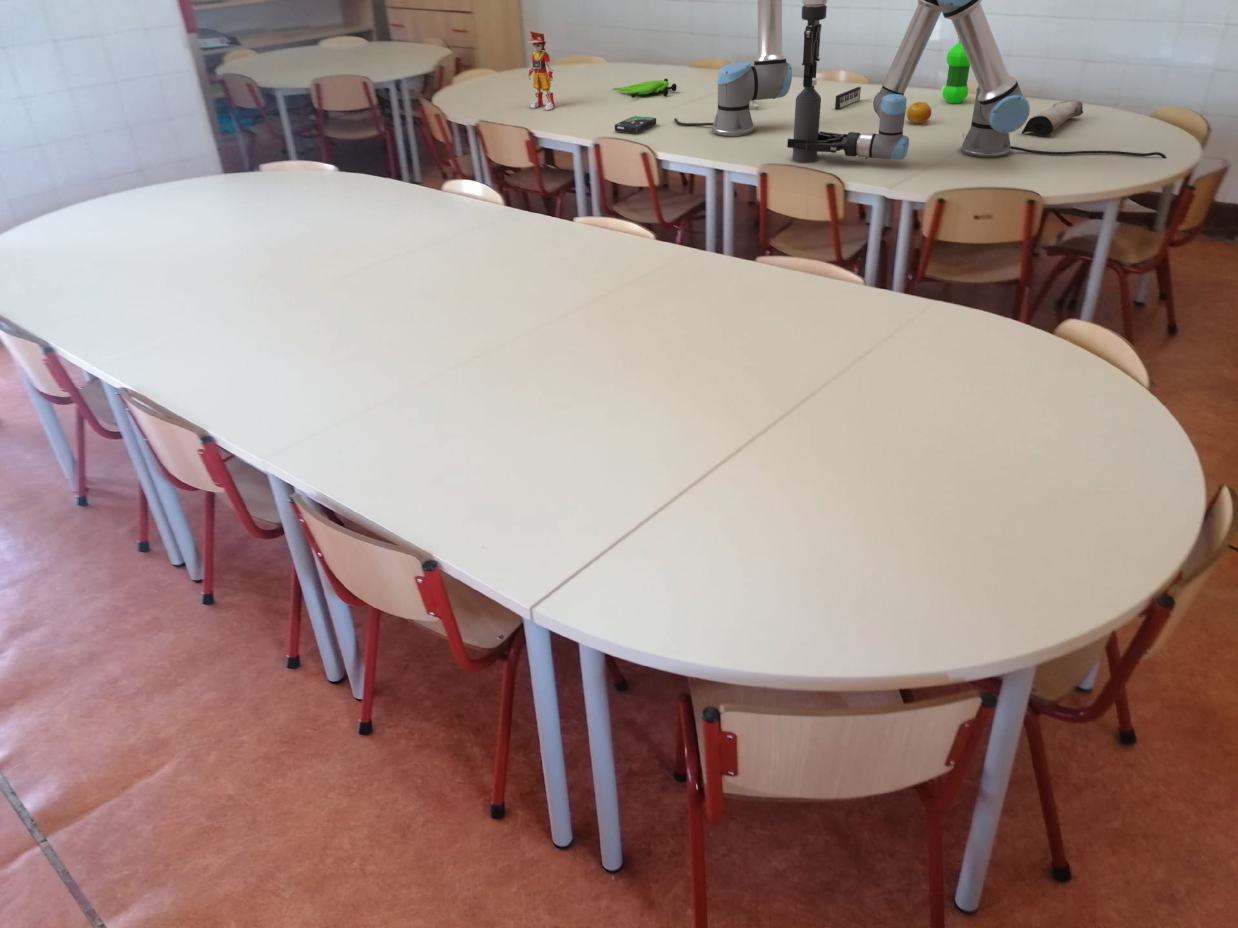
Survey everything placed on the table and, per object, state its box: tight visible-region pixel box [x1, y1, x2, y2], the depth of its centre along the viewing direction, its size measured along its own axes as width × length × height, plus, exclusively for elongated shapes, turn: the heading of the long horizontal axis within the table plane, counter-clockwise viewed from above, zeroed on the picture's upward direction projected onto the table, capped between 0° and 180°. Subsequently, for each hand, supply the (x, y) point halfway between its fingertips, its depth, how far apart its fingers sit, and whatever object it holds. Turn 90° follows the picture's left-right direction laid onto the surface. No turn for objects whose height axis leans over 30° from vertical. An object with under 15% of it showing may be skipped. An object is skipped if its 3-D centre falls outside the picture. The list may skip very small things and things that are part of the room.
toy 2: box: [612, 78, 677, 99], centre depth 396 cm, size 28×5×30 cm
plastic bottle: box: [942, 36, 971, 104], centre depth 348 cm, size 10×10×25 cm
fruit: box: [906, 101, 932, 124], centre depth 331 cm, size 8×8×8 cm
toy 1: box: [527, 31, 556, 111], centre depth 374 cm, size 12×9×30 cm
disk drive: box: [614, 115, 657, 135], centre depth 346 cm, size 10×3×15 cm
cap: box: [801, 77, 818, 87], centre depth 290 cm, size 4×5×2 cm
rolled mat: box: [1021, 99, 1084, 138], centre depth 318 cm, size 30×9×10 cm
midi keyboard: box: [834, 86, 862, 110], centre depth 359 cm, size 18×1×5 cm, turn 138°
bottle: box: [792, 86, 822, 163], centre depth 297 cm, size 8×8×25 cm
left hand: (809, 85), depth 290 cm, fingers closed on cap, 4 cm apart
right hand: (792, 139), depth 302 cm, fingers closed on bottle, 8 cm apart
